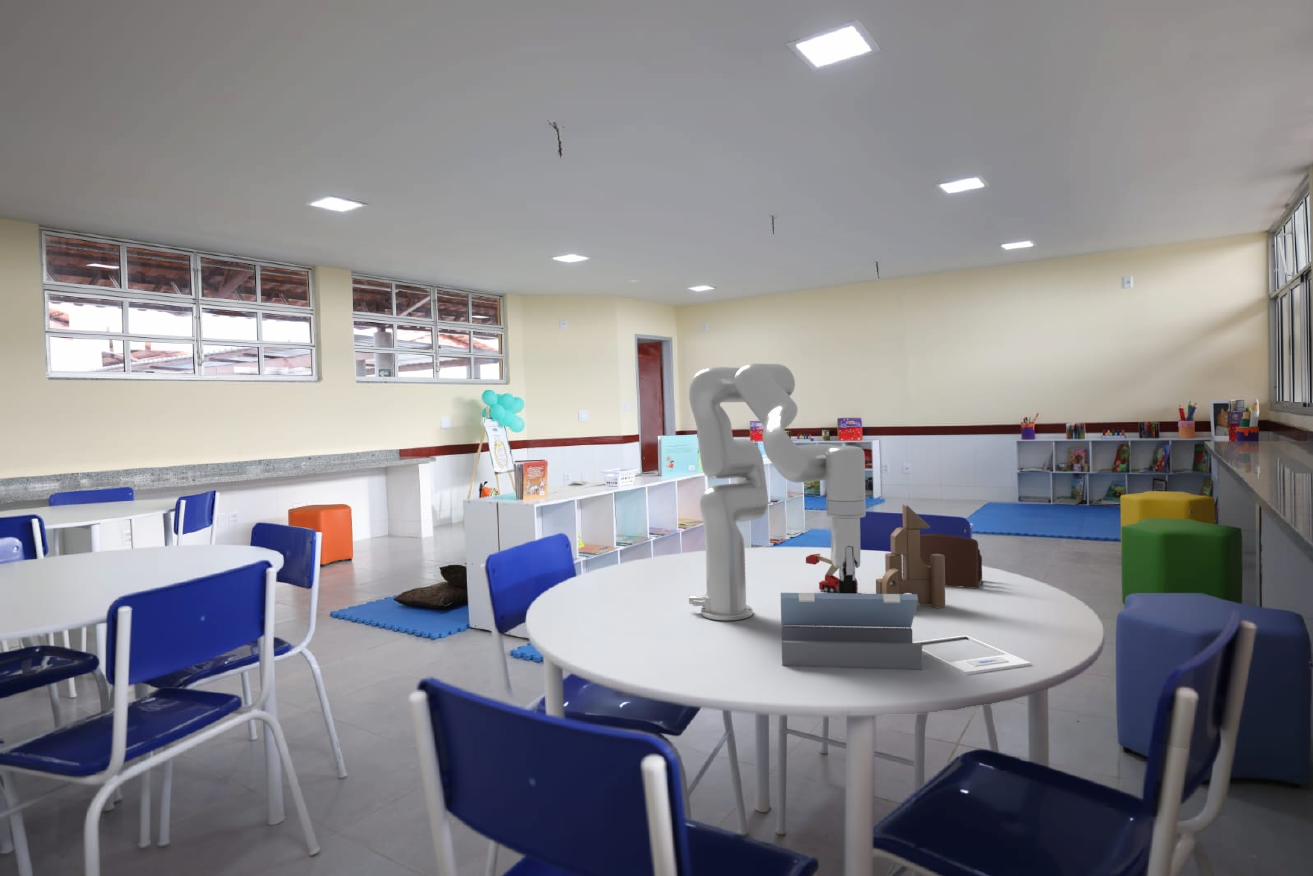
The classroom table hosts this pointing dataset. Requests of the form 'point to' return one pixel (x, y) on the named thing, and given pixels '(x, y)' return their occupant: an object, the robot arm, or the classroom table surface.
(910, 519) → the wooden toy
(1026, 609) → the classroom table surface
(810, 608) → the duct cover
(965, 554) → the letter holder
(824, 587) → the toy fire truck
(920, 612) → the classroom table surface
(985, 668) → the photo frame
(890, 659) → the cable duct
